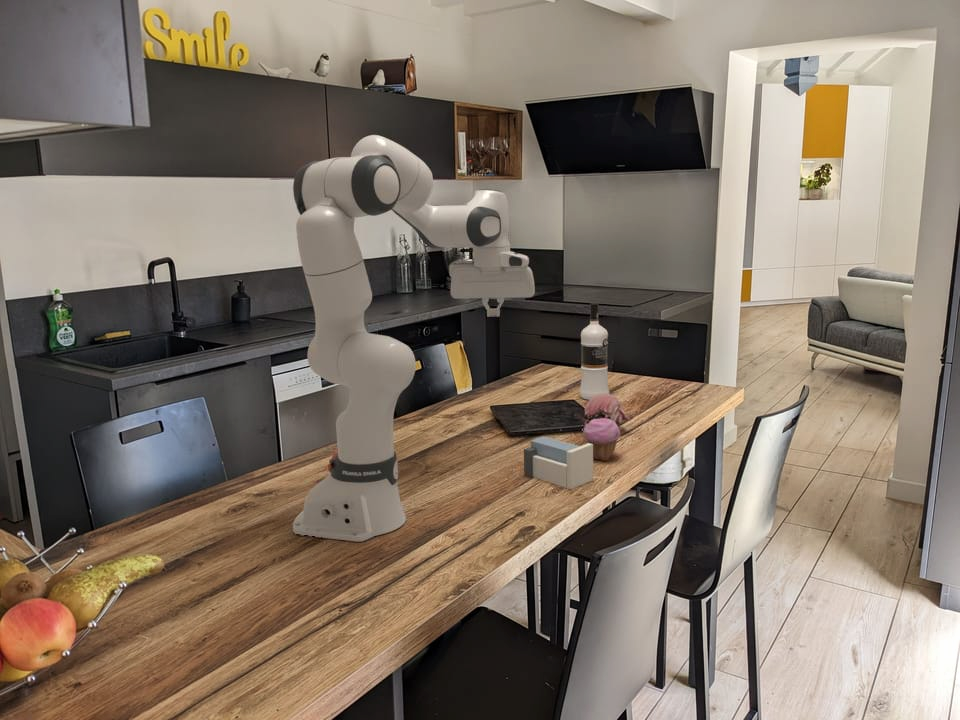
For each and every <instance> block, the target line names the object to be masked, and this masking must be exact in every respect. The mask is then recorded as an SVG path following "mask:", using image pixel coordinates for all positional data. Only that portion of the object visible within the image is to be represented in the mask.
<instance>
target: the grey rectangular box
mask: <svg viewBox="0 0 960 720" xmlns="http://www.w3.org/2000/svg"><path fill="white" fill-rule="evenodd" d="M580 446H581V445H577V444H573V443H569V442H566V441H562V440H558V439H555V438H551V437H547V436H541V437H537V438H534V439H531V440H530V447H531V448H534V449H536V455H537V456H540V457H544V458H547V459H551V460H554V461H557V462H561V463H564V464H567V451H570V450H572V449H575V448H577V447H580Z"/></svg>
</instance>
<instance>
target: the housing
mask: <svg viewBox="0 0 960 720" xmlns="http://www.w3.org/2000/svg"><path fill="white" fill-rule="evenodd" d="M579 446H580V447H577V448H575V449H572V450H570V451H567V464H564V463H561V462H557V461H554V460H551V459H547V458H544V457H540V456H537V455H536V449H534V448H531V446H530V447H529V446H528V447H526V448H524V449H523V473H524V474H523V477H527V478H530V479H531V478H535V479H538V480H540V481H545V482H547V483H550V484H553V485H556V486H558V487H559V486H560V487H562V488H566V489H569V490H573V489H575V488H578V487H580V486H582V485H585V484H588V483H589V482H591V481H594V459H593V444H590V443H588V442H587V443H585V444H583V445H579Z"/></svg>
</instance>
